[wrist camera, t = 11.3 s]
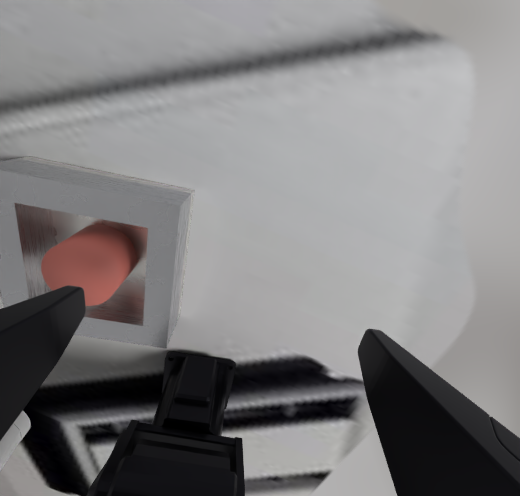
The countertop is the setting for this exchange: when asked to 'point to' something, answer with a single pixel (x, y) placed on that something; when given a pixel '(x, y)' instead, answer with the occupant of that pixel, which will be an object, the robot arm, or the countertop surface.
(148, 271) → the frame
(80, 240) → the plunger
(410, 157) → the countertop surface
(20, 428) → the cup
